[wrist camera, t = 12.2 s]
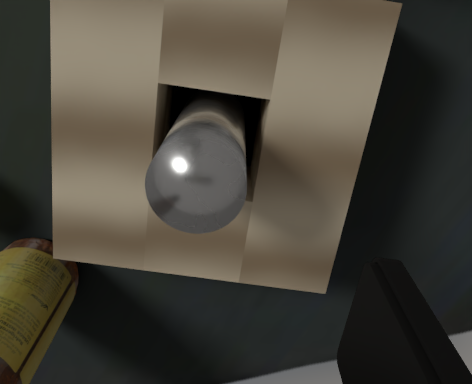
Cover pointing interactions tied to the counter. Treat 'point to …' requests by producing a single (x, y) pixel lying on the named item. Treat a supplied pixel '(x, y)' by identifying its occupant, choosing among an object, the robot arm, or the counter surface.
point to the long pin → (201, 165)
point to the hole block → (226, 81)
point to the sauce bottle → (31, 305)
